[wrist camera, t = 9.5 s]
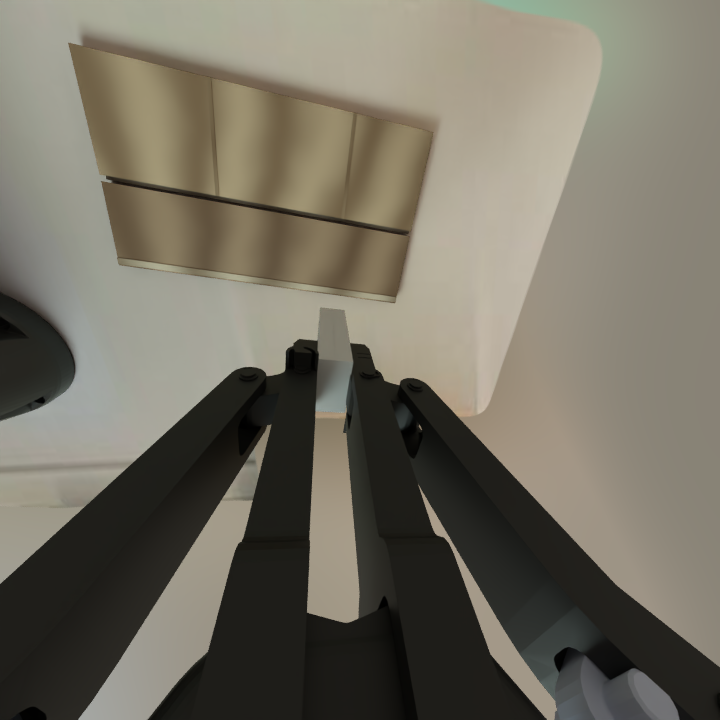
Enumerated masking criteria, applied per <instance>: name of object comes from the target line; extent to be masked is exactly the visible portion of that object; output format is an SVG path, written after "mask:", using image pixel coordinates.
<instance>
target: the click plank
mask: <svg viewBox="0 0 720 720" xmlns="http://www.w3.org/2000/svg"><path fill="white" fill-rule="evenodd" d="M101 182H102V187H103V191H104V196H105V201H106V205H107V210H108V214H109V219H110V224H111V228H112V233H113V238H114V242H115V247H116V251H117V256H118V258H117V259H118V264H119V265H122V266H130V267H137V268H144V269H151V270H159V271H166V272H173V273H180V274H188V275H195V276H202V277H209V278H217V279H224V280H231V281H238V282H246V283H253V284H260V285H267V286H275V287H282V288H289V289H296V290H304V291H311V292H318V293H325V294H333V295H340V296H347V297H354V298H361V299H369V300H376V301H383V302H390V303H395V302H396V296H397V291H398V287H399V282H400V278H401V273H402V269H403V264H404V260H405V255H406V251H407V246H408V242H409V236H404V235H398V234H393V233H387V232H382V231H376V230H371V229H365V228H359V227H354V226H348V225H343V224H337V223H332V222H326V221H320V220H315V219H309V218H304V217H298V216H293V215H287V214H281V213H276V212H270V211H265V210H259V209H253V208H248V207H242V206H237V205H231V204H226V203H220V202H214V201H209V200H203V199H198V198H192V197H187V196H181V195H175V194H170V193H164V192H159V191H153V190H148V189H142V188H136V187H131V186H125V185H120V184H114V183H108V182H103V181H101Z"/></svg>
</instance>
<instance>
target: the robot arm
mask: <svg viewBox="0 0 720 720" xmlns="http://www.w3.org/2000/svg"><path fill="white" fill-rule="evenodd" d="M73 377H74V363H73V359H72V356H71V354H70V352H69V350H68V348H67V346H66V344H65V343H64V341H63V340H62V338H61V337H60V336H59V335H58V333H57V332H56V331H55V330H54V329H53V328H52V327H51V326H50V325H49V324H48V323H47V322H46V321H45V320H43V319H42V318H41V317H40V316H39V315H37V314H36V313H35V312H33V311H32V310H30V309H29V308H27V307H26V306H24V305H23V304H21V303H19V302H17V301H16V300H14V299H12V298H10V297H8V296H6V295H3V294H1V293H0V421H3V420H6V419H9V418H12V417H15V416H18V415H21V414H24V413H27V412H29V411H32V410H35V409H38V408H40V407H42V406H44V405H46V404H48V403H49V402H51V401H52V400H54V399H55V398H57V397H58V396H60V395H61V394H62V393H64V392H65V391H66V390H67V389H68V388H69V386H70V385H71V383H72V381H73ZM346 407H347V413H346V419H345V425H344V431H343V432H344V433H347V446H348V458H349V469H350V481H351V493H352V505H353V517H354V529H355V541H356V552H357V564H358V576H359V590H360V598H359V619H357V620H355V621H352V622H349V623H343V622H339V621H335V620H331V619H328V618H324V617H320V616H317V615H313V614H309V613H307V597H308V575H309V553H310V552H309V551H310V540H309V531H310V511H311V491H312V490H311V489H312V470H313V450H314V430H315V411H322V412H342V413H345V409H346ZM270 424H272V425H271V430H270V434H269V437H268V442H267V446H266V450H265V454H264V458H263V462H262V466H261V470H260V474H259V478H258V482H257V486H256V490H255V494H254V498H253V502H252V506H251V510H250V514H249V518H248V522H247V526H246V531H245V534H244V538H243V540H242V542H240V543H239V544H238V546H237V548H236V550H235V553H234V557H233V560H232V563H231V567H230V571H229V574H228V578H227V582H226V586H225V590H224V593H223V597H222V601H221V605H220V609H219V612H218V616H217V620H216V624H215V628H214V631H213V635H212V639H211V643H210V646H209V650H208V652H207V653H206V654H205V655H204V656H203V657H202V658H201V659H200V660H198V661H197V662H196V663H195V664H194V665H193V666H192V667H191V668H190V669H189V670H188V671H187V673H185V675H184V676H183V677H182V678H181V679H180V680H179V681H178V682H177V684H176V685H175V686H174V687H173V688H172V690H171V691H170V692H169V693H168V695H167V696H166V697H165V699H164V700H163V701H162V702H161V704H160V705H159V706H158V707H157V709H156V710H155V711H154V712H153V714H152V715H151V716H150V718H149V719H148V720H547V719H546V718H545V717H544V716H543V715H542V713H541V712H540V711H539V710H538V709H537V708H536V707H535V705H534V704H533V703H532V702H531V701H530V700H529V699H528V697H527V696H526V695H525V694H524V693H523V692H522V691H521V689H520V688H519V687H518V686H517V685H516V684H515V683H514V681H513V680H512V679H511V678H510V677H509V676H508V674H507V673H506V672H505V671H504V670H503V669H502V667H501V666H500V665H499V664H498V663H497V662H496V661H495V659H494V658H493V657H492V656H491V655H490V652H489V649H488V646H487V644H486V641H485V638H484V636H483V633H482V630H481V627H480V625H479V622H478V619H477V616H476V614H475V611H474V608H473V606H472V603H471V600H470V597H469V594H468V592H467V589H466V586H465V583H464V581H463V578H462V575H461V572H460V570H459V567H458V564H457V562H456V559H455V556H454V553H453V551H452V549H451V547H450V545H449V543H448V542H447V541H446V539H445V538H443V537H440V536H437V535H436V534H435V533H434V531H433V528H432V526H431V523H430V520H429V517H428V514H427V510H426V507H425V504H424V502H423V498H422V495H421V492H420V489H419V486H420V488H421V490H422V491H423V493H424V495H425V496H426V498H427V500H428V501H429V503H430V505H431V507H432V508H433V510H434V511H435V513H436V515H437V517H438V519H439V520H440V522H441V524H442V525H443V527H444V528H445V530H446V532H447V534H448V535H449V537H450V539H451V541H452V542H453V544H454V546H455V547H456V549H457V551H458V552H459V554H460V556H461V557H462V559H463V561H464V563H465V564H466V566H467V568H468V569H469V571H470V573H471V575H472V576H473V578H474V580H475V581H476V583H477V585H478V586H479V588H480V590H481V591H482V593H483V595H484V597H485V598H486V600H487V602H488V603H489V605H490V607H491V608H492V610H493V612H494V614H495V615H496V617H497V619H498V620H499V622H500V624H501V625H502V627H503V629H504V630H505V632H506V633H507V635H508V637H509V638H510V640H511V641H512V643H513V644H514V646H515V648H516V649H517V651H518V652H519V654H520V655H521V657H522V658H523V659H524V661H525V662H526V663H527V665H528V666H529V668H530V669H531V671H532V672H533V673H534V675H535V676H536V677H537V679H538V680H539V681H540V683H541V684H542V685H543V686H544V688H545V689H546V690H547V691H548V693H549V694H550V695H551V696H552V697H553V699H554V700H555V701H556V708H557V711H556V712H555V720H720V667H718V666H717V665H716V664H714V663H713V662H712V661H711V660H710V659H708V658H707V657H706V656H705V655H703V654H702V653H701V652H700V651H698V650H697V649H696V648H694V647H693V646H692V645H691V644H690V643H688V642H687V641H686V640H684V639H683V638H682V637H681V636H679V635H678V634H677V633H676V632H674V631H673V630H672V629H671V628H669V627H668V626H667V625H665V624H664V623H663V622H662V621H661V620H659V619H658V618H657V617H656V616H654V615H653V614H652V613H650V612H649V611H648V610H647V609H645V608H644V607H643V606H642V605H640V604H639V603H638V602H637V601H635V600H634V599H633V598H631V597H630V596H629V595H628V594H627V593H625V592H624V591H623V590H622V589H620V588H619V587H618V586H617V585H615V583H614V582H613V581H612V580H611V579H610V578H609V577H608V576H607V575H606V574H605V573H604V572H603V571H602V570H601V569H600V567H598V565H597V564H596V563H595V562H594V561H593V560H592V559H591V558H590V557H589V556H588V555H587V554H586V553H585V552H584V551H583V549H582V548H580V546H579V545H578V544H577V543H576V542H575V541H574V540H573V539H572V538H571V537H570V536H569V535H568V533H567V532H566V531H565V530H564V529H563V528H562V527H561V526H560V525H559V524H558V523H557V522H556V521H555V520H554V519H553V518H552V517H551V515H550V514H549V513H548V512H547V511H546V510H545V509H544V508H543V507H542V506H541V505H540V504H539V503H538V502H537V501H536V500H535V498H534V497H533V496H532V495H531V494H530V493H529V492H528V491H527V490H526V489H525V488H524V487H523V486H522V485H521V484H520V483H519V482H518V481H517V479H516V478H515V477H514V476H513V475H512V474H511V473H510V472H509V471H508V470H507V469H506V468H505V467H504V466H503V464H502V463H501V462H500V461H499V460H498V459H497V458H496V457H495V456H494V455H493V454H492V453H491V452H490V451H489V450H488V449H487V447H486V446H485V445H484V444H483V443H482V442H481V441H480V440H479V439H478V438H477V437H476V436H475V435H474V434H473V433H472V432H471V430H470V429H469V428H468V427H467V426H466V425H465V424H464V423H463V422H462V421H461V420H460V419H459V418H458V417H457V416H456V415H455V413H454V412H453V411H452V410H451V409H450V408H449V407H448V406H447V405H446V404H445V403H444V402H443V401H442V400H441V399H440V398H439V396H438V395H437V394H436V393H435V392H434V391H433V390H432V389H431V388H430V387H429V386H428V385H427V384H426V383H424V382H422V381H420V380H418V379H414V378H406V379H403V380H402V381H401V382H400V385H396V384H392V383H389V382H386V381H384V379H383V376H382V374H381V373H380V372H379V371H378V370H376V369H375V366H374V363H373V360H372V356H371V353H370V350H369V348H367V347H366V346H365V345H363V344H353V343H350V340H349V334H348V329H347V323H346V317H345V311H344V310H338V309H329V308H320V317H319V328H318V339H317V341H313V340H303V339H299V340H297V341H296V342H295V343H294V345H293V346H292V347H290V348H288V349H287V350H286V369H285V372H283V373H281V374H278V375H273V376H266V373H265V372H264V371H263V370H262V369H259V368H255V367H244V368H240V369H237V370H235V371H233V372H232V373H231V374H230V375H229V376H228V377H226V378H225V379H224V380H223V381H222V382H221V383H220V384H219V385H218V386H217V387H215V388H214V389H213V390H212V391H211V392H210V393H209V394H208V395H207V396H206V397H205V398H203V399H202V400H201V401H200V402H199V403H198V404H197V405H196V406H195V407H194V408H192V409H191V410H190V411H189V412H188V413H187V414H186V415H185V416H184V417H183V418H182V419H180V420H179V421H178V422H177V423H176V424H175V425H174V426H173V427H172V428H171V429H170V430H168V431H167V432H166V433H165V434H164V435H163V436H162V437H161V438H160V439H159V440H157V441H156V442H155V443H154V444H153V445H152V446H151V447H150V448H149V449H148V450H147V451H145V452H144V453H143V454H142V455H141V456H140V457H139V458H138V459H137V460H136V461H134V462H133V463H132V464H131V465H130V466H129V467H128V468H127V469H126V470H125V471H124V472H122V473H121V474H120V475H119V476H118V477H117V478H116V479H115V480H114V481H113V482H111V483H110V484H109V485H108V486H107V487H106V488H105V489H104V490H103V491H102V492H101V493H99V494H98V495H97V496H96V497H95V498H94V499H93V500H92V501H91V502H90V503H89V504H87V505H86V506H85V507H84V508H83V509H82V510H81V511H80V512H79V513H78V514H77V515H75V516H74V517H73V518H72V519H71V520H70V521H69V522H68V523H67V524H66V525H64V527H62V528H61V529H60V530H59V531H58V532H57V533H56V534H55V535H53V536H52V537H51V538H50V539H49V540H48V541H47V542H46V543H45V544H44V545H43V546H42V547H40V548H39V549H38V550H37V551H36V552H35V553H34V554H33V555H32V556H30V557H29V558H28V559H27V560H26V561H25V562H24V563H23V564H22V565H21V566H20V567H18V568H17V569H16V570H15V571H14V572H13V573H12V574H11V575H10V576H9V577H8V578H6V579H5V580H4V581H3V582H2V583H1V584H0V720H78V719H79V717H80V716H81V715H82V713H83V712H84V711H85V710H86V708H87V707H88V705H89V704H90V703H91V702H92V700H93V699H94V697H95V696H96V694H97V693H98V691H99V690H100V688H101V687H102V685H103V684H104V683H105V681H106V679H107V678H108V677H109V675H110V674H111V672H112V671H113V669H114V668H115V666H116V665H117V663H118V662H119V660H120V659H121V657H122V655H123V654H124V652H125V651H126V649H127V648H128V646H129V645H130V643H131V641H132V640H133V638H134V637H135V635H136V634H137V632H138V630H139V629H140V627H141V626H142V624H143V623H144V621H145V619H146V618H147V616H148V615H149V613H150V611H151V610H152V608H153V606H154V605H155V604H156V602H157V600H158V599H159V597H160V596H161V594H162V593H163V591H164V589H165V588H166V586H167V585H168V583H169V582H170V580H171V578H172V577H173V575H174V573H175V572H176V570H177V569H178V567H179V566H180V564H181V562H182V561H183V559H184V558H185V556H186V555H187V553H188V552H189V550H190V548H191V547H192V545H193V544H194V542H195V540H196V539H197V537H198V536H199V534H200V533H201V531H202V530H203V528H204V526H205V525H206V523H207V522H208V520H209V519H210V517H211V515H212V514H213V512H214V511H215V509H216V507H217V506H218V504H219V503H220V501H221V500H222V498H223V496H224V495H225V493H226V492H227V490H228V489H229V487H230V485H231V484H232V482H233V481H234V479H235V478H236V476H237V474H238V473H239V471H240V470H241V468H242V467H243V465H244V463H245V462H246V460H247V459H248V457H249V456H250V454H251V452H252V451H253V449H254V448H255V446H256V445H257V443H258V441H259V440H260V438H261V437H262V435H263V433H264V432H265V430H266V427H267V425H270ZM419 424H420V426H421V428H422V430H421V429H420V428H419ZM418 485H419V486H418Z"/></svg>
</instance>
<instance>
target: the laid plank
mask: <svg viewBox="0 0 720 720" xmlns="http://www.w3.org/2000/svg"><path fill="white" fill-rule="evenodd" d="M68 44H69V48H70V52H71V56H72V60H73V65H74V69H75V73H76V77H77V81H78V86H79V90H80V94H81V98H82V102H83V106H84V111H85V115H86V119H87V123H88V127H89V132H90V136H91V140H92V144H93V148H94V152H95V157H96V161H97V165H98V169H99V173H100V175H106V179H108V180H113V181H119V182H124V183H130V184H135V185H141V186H146V187H152V188H157V189H163V190H169V191H174V192H180V193H185V194H191V195H196V196H202V197H207V198H213V199H218V200H224V201H229V202H235V203H240V204H246V205H252V206H257V207H263V208H268V209H274V210H279V211H285V212H290V213H296V214H301V215H307V216H312V217H318V218H323V219H329V220H334V221H340V222H346V223H351V224H357V225H362V226H368V227H373V228H379V229H384V230H390V231H395V232H401V233H406V234H408V233H409V231H411V228H412V224H413V220H414V215H415V211H416V206H417V202H418V198H419V193H420V189H421V185H422V180H423V176H424V172H425V167H426V163H427V159H428V154H429V150H430V146H431V141H432V137H433V132H430V131H426V130H422V129H418V128H414V127H410V126H406V125H402V124H398V123H393V122H389V121H385V120H381V119H377V118H373V117H369V116H365V115H361V114H357V113H353V112H349V111H345V110H340V109H336V108H332V107H328V106H324V105H320V104H316V103H312V102H308V101H304V100H300V99H296V98H292V97H288V96H283V95H279V94H275V93H271V92H267V91H263V90H259V89H255V88H251V87H247V86H243V85H239V84H235V83H230V82H226V81H222V80H218V79H214V78H211V77H206V76H202V75H198V74H194V73H190V72H186V71H182V70H178V69H173V68H169V67H165V66H161V65H157V64H153V63H149V62H145V61H141V60H137V59H133V58H129V57H125V56H120V55H116V54H112V53H108V52H104V51H100V50H96V49H92V48H88V47H84V46H80V45H76V44H72V43H68Z"/></svg>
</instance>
